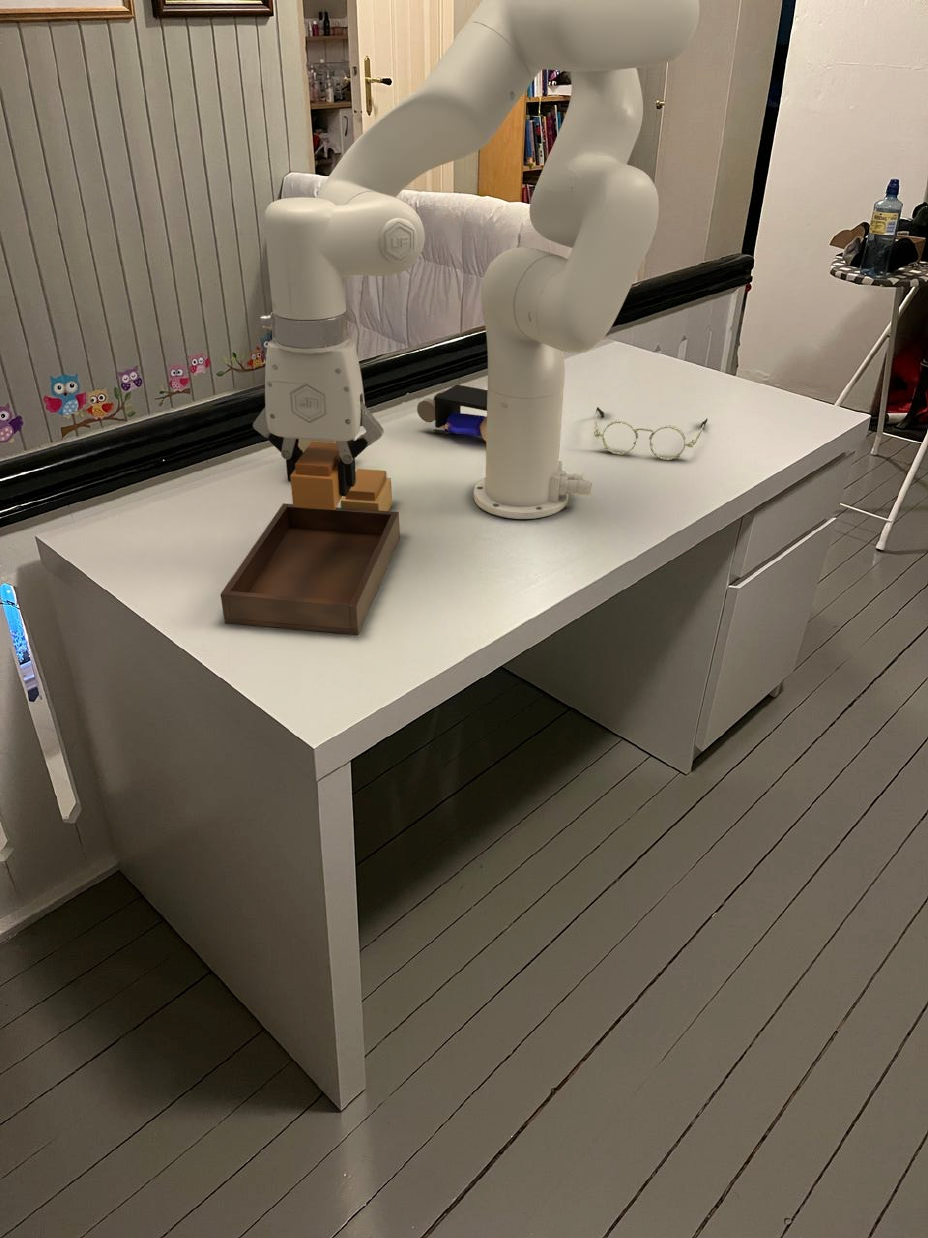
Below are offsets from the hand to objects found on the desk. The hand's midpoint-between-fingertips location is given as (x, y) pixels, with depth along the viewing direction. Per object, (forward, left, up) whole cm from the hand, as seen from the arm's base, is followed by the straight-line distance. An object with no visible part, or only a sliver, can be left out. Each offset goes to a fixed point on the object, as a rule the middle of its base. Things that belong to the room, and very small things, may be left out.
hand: (322, 487), depth 108 cm
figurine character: (-11, -39, -9) cm, 42 cm away
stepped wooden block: (-2, -11, -9) cm, 15 cm away
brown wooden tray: (0, +5, -9) cm, 10 cm away
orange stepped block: (0, 0, -1) cm, 1 cm away
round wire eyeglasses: (-38, -43, -9) cm, 58 cm away
